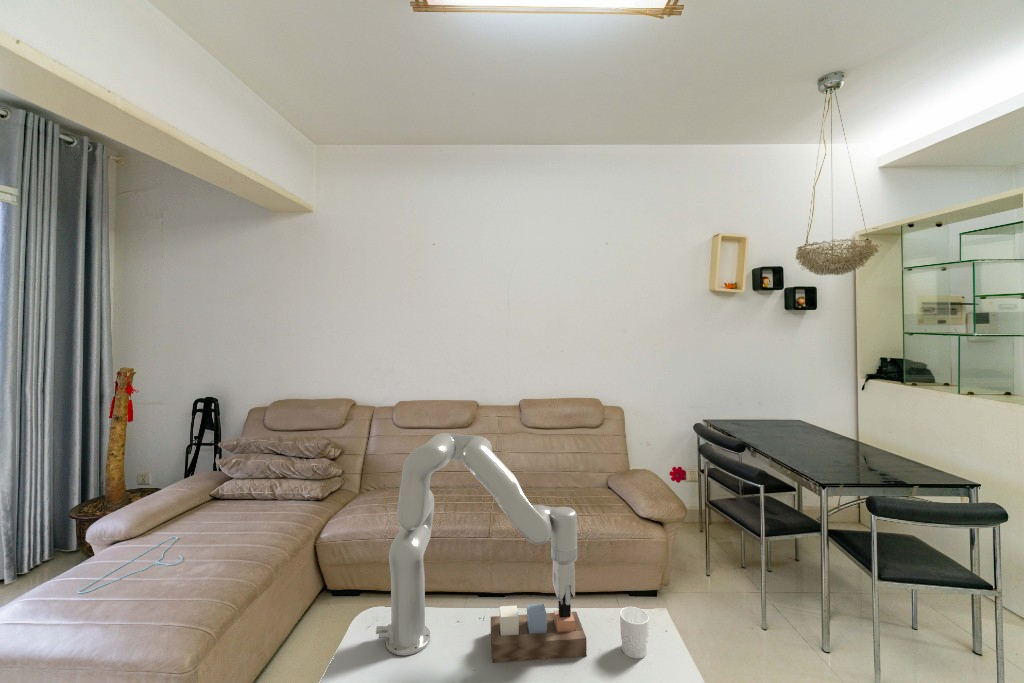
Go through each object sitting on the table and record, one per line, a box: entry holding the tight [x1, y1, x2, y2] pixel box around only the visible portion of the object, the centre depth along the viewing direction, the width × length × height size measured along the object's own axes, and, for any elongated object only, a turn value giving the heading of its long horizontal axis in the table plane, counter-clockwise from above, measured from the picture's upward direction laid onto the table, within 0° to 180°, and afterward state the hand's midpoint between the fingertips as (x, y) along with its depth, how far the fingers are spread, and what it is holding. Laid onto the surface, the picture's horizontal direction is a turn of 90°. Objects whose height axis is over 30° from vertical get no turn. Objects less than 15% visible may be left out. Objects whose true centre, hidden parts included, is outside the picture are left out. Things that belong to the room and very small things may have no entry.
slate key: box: [526, 603, 547, 634], centre depth 126 cm, size 5×5×6 cm
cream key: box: [499, 605, 519, 636], centre depth 125 cm, size 5×5×6 cm
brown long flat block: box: [490, 611, 588, 664], centre depth 126 cm, size 26×12×5 cm, turn 95°
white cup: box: [619, 606, 650, 659], centre depth 123 cm, size 8×8×10 cm
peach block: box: [553, 610, 575, 632], centre depth 126 cm, size 5×5×6 cm
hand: (564, 615), depth 126 cm, fingers closed
